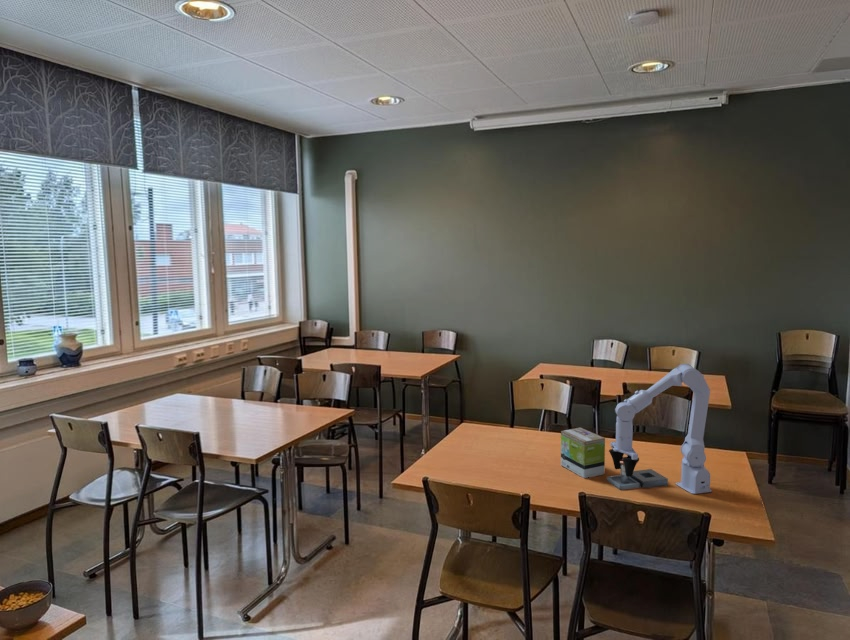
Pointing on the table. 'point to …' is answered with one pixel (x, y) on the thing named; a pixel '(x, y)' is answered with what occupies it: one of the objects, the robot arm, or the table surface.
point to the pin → (623, 473)
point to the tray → (617, 483)
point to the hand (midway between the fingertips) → (623, 472)
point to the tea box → (583, 452)
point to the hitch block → (649, 478)
